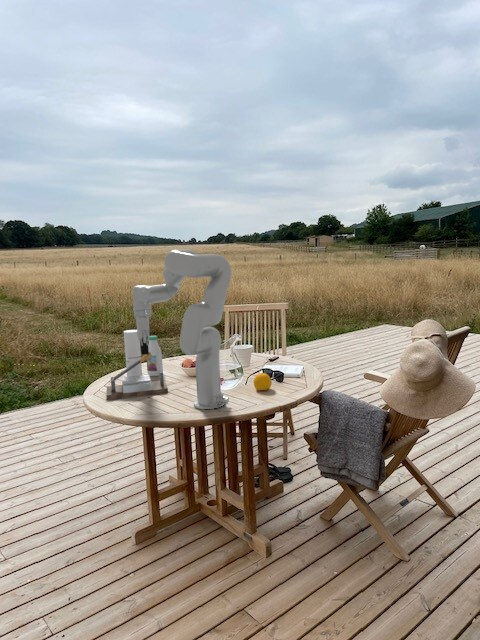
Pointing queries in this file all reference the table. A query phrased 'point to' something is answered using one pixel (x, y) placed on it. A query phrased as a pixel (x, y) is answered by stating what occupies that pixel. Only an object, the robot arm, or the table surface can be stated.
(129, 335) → the cylindrical container
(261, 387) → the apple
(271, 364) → the table surface
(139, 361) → the lever
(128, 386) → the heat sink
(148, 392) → the mounting board
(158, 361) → the milk bottle
